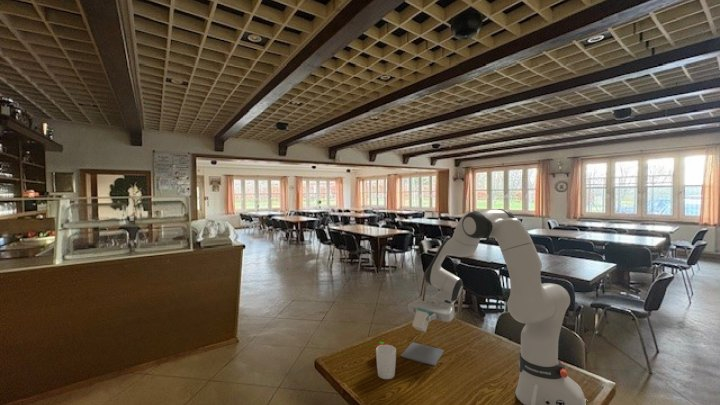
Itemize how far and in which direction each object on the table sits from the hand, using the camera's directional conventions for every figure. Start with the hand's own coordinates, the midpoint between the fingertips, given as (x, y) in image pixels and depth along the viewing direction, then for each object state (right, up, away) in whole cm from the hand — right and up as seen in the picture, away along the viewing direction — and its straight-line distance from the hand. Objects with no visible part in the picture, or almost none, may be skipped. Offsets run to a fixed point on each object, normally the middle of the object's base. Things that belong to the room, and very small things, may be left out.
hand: (421, 317), depth 135 cm
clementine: (-16, -18, 0) cm, 24 cm away
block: (-2, -4, -2) cm, 5 cm away
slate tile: (+1, -17, +4) cm, 18 cm away
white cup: (-16, -18, -11) cm, 27 cm away
